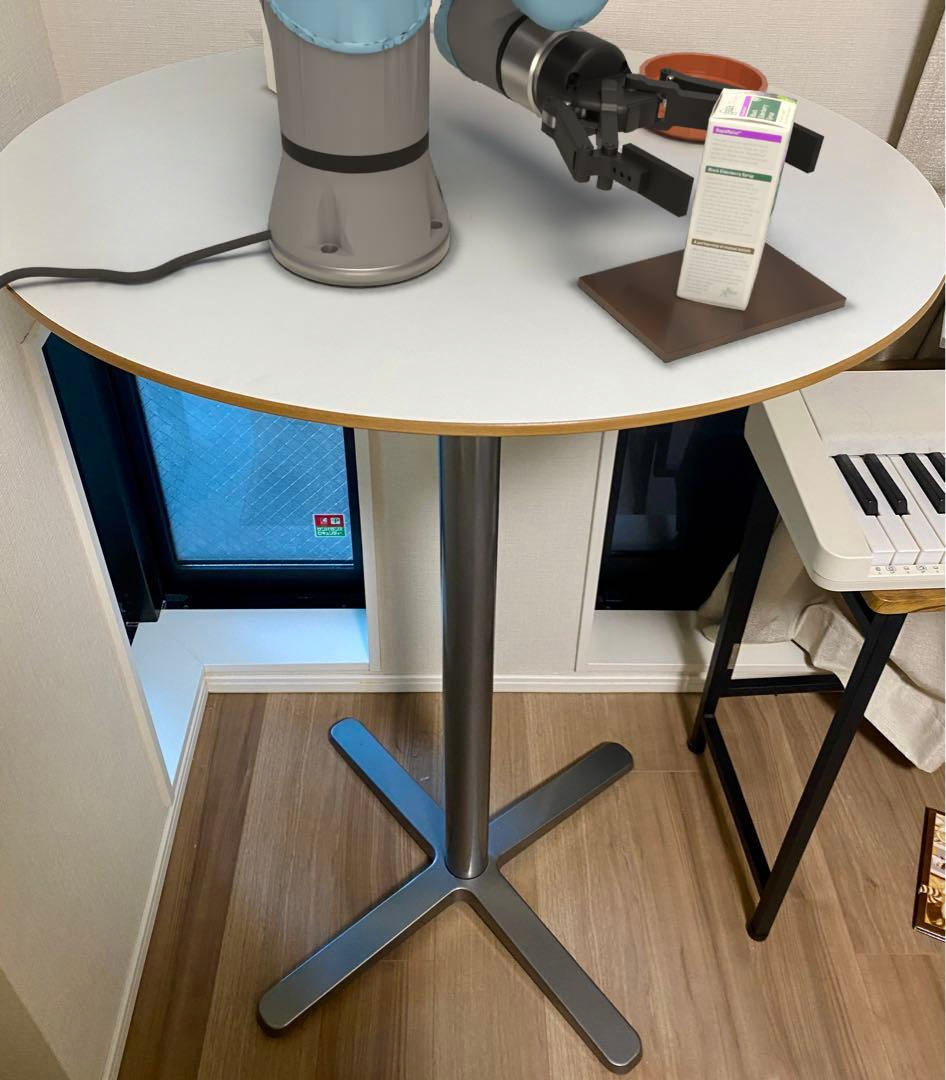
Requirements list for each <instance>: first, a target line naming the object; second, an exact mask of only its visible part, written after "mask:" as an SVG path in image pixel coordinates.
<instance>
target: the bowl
mask: <svg viewBox="0 0 946 1080" xmlns="http://www.w3.org/2000/svg"><path fill="white" fill-rule="evenodd" d="M663 68H670V69H673V70H675V71H678V72H680V73H683V74H685V75H688V76H692V77H697V78H701V79H706V80H710V81H714V82H719V83H723V84H727V85H732V86H736V87H741V88H745V89H749V90H754V91H763V92H768V87H769V82H768V78H767V76H766V75H765V74H764V73H763V72H762V71H761V70H759V69H758V68H756V67H754V66H752V65H751V64H748V63H747V62H744V61H741V60H738V59H736V58H732V57H727V56H725V55H719V54H713V53H704V52H694V51H692V52H691V51H688V52H687V51H685V52H684V51H683V52H669V53H664V54H658V55H655V56H652V57H650V58H648V59H646V60H644V61H643V63H641V65H639V67H638V73H637V74H641V75H645V76H646V77H647V78H648V79H653V80H659V75H660V70H661V69H663ZM665 109H666V108H665V107H663V106H662V103H660V107H659V113H658V117H657V118H663V117H664V115H665ZM654 131H657V132H659V133H661V134H664V135H666V136H670V137H673V138H676V139H680V140H686V141H692V142H693V141H694V142H704V143H705V140H706V134H707V130H700V129H693V128H686V127H679V126H673V127H672V128H671V129H670V130H668V131H663V130H656V129H654Z"/></svg>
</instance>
